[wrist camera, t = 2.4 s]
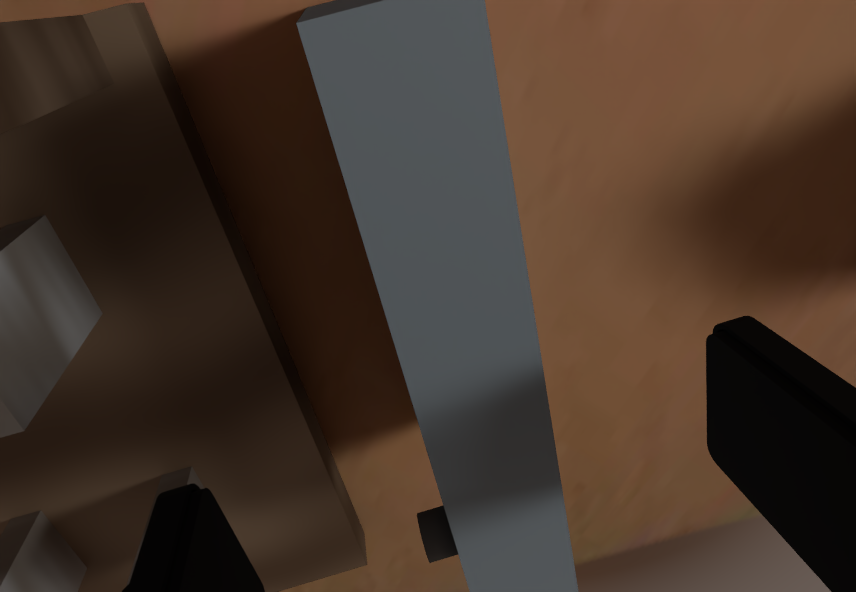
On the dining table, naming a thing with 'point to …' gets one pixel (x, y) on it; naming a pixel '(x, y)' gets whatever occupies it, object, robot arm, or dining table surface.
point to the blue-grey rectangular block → (449, 273)
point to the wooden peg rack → (137, 329)
